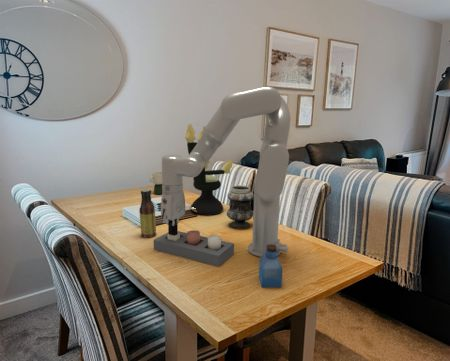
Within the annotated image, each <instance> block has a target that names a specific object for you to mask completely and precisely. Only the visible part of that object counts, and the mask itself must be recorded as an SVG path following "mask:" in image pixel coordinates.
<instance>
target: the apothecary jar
mask: <svg viewBox="0 0 450 361" xmlns="http://www.w3.org/2000/svg"><path fill="white" fill-rule="evenodd" d="M230 188H231V189H230V191H229V192H228V193H227V196H226V197H227V199H228V200H229V207H228V209H227V210H226V216H227V218H228V219H230V220H232V221H231V222H230V223H229V224H228V226H229V227H230V228H231V229H235V230H246V229H249V228H250V227H251V223H249V222H248V221H250V220H251V219H253V210H252V206H251V205H252V200H254V192H252V191H251V187H249V186H247V185H239V184H238V185H232V186H231V187H230Z"/></svg>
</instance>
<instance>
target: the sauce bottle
mask: <svg viewBox="0 0 450 361" xmlns="http://www.w3.org/2000/svg"><path fill="white" fill-rule="evenodd" d="M140 194H141V201H140V202H141V203H140V206H139V211H138V213H139V220H140V221H139V224H140V225H139V226H140V233H141V236H142V237H143V238H147V239H148V238H153V237H156V235H157V224H156V223H157V222H156V210H155V204H154V202H153V201H152V190H151V189H150V188H143V189H140Z"/></svg>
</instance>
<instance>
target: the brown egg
mask: <svg viewBox="0 0 450 361" xmlns="http://www.w3.org/2000/svg"><path fill="white" fill-rule="evenodd" d="M186 233H187V244H190V245H195V246H196V245H198V244H199V243H200V236H201V232H200V231H198V230H188V231H187V232H186Z"/></svg>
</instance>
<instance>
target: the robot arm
mask: <svg viewBox="0 0 450 361" xmlns="http://www.w3.org/2000/svg"><path fill="white" fill-rule="evenodd" d="M262 115H265V116H264V117H265V124H264V125H265V127H264V132H263V138H262V144H261V147H260V149H259V150H260V151H259V161H258V167H257V172H256V174H255V176H254V180H253V195H254V197H253V210H252V212H253V217H252V238H251V239H252V240H251V243H250V244H249V245H248V246H247V251H248V252H249V253H250V254H251V255H253V256H255V257H260V258H261V257H262V255H263V254H266V249H267V247H266V246H267V245H269V244H272V245H276V246H277V248H276V250H277V256H279V255H280V254H281V253H288V250H289V247H288V245H287V244H283V243H281V239H280V238H279V222H280V207H281V206H280V203H281V202H280V201H281V200H280V199H281V195H282V193H283V189H284V186H285V181H286V176H287V172H288V166H289V161H290V160H289V159H290V154H289V150H288V148H287V146H288V140H289V132H290V127H291V112H290V108H289V107H288V104H287V102H286V100H285V99H284V98H283V97H282V96H281V93H280V92H279V90H277V89H276V88H275V87H274V86H263V87H258V88H254V89H250V90H249V89H248V90H246V91H245V90H244V91H241V92H240V91H239V92H235V93H233V92H232V93H229V94H227V95H225V96H224V98H222V101H221V102H220V105H219V107H218V108H217V109H216V111H215V113H214V114H213V115H212V117H211V118H210V120H209V121H208V123H207V124H206V125H205V129H204V131H203V134H202V136H201V138H200V140H199V142H198V141H197V145H196V146H195V147H194V149H193V150H192V152H191V153H190V154H189V153H188V156H185V157H182V155H178V154H165V155H163V156H162V157H161V172H162V192H163V193H162V194H161V197H160V198H161V201H160V217H161V219H162V223H163V224H167V226H168V229H167V230H168V231H167V232H168V234H169V235H174V236H175V235H177V234H178V231H179V230H178V228H179V227H178V226H179V223H180V222H179V221H180V218H181V217H183V216H184V215H185V214H186V198H185V193H184V187H183V186H184V185H183V183H184V182H183V181H184V180H183V179H184V178H183V177H185V178H193V177H196V176H198V175H199V174H200V173H201V171H202V170H203V168H204V167H205V165H206V164H207V163H208V161H209V162H210V159H211V158H212V157H213V156H214V154H215V153H216V151H217V150H218V149H219V148H220V147H221V146H222V145H223V144H224V143H225V142H226V140H228V139H227V138H229V136H230V134H231V133H232V131H233V130H234V129H235V127H236V126H237V125H238V123H239V122H240V120H241V119H247V118H248V119H249V118H252V117H258V116H262Z"/></svg>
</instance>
